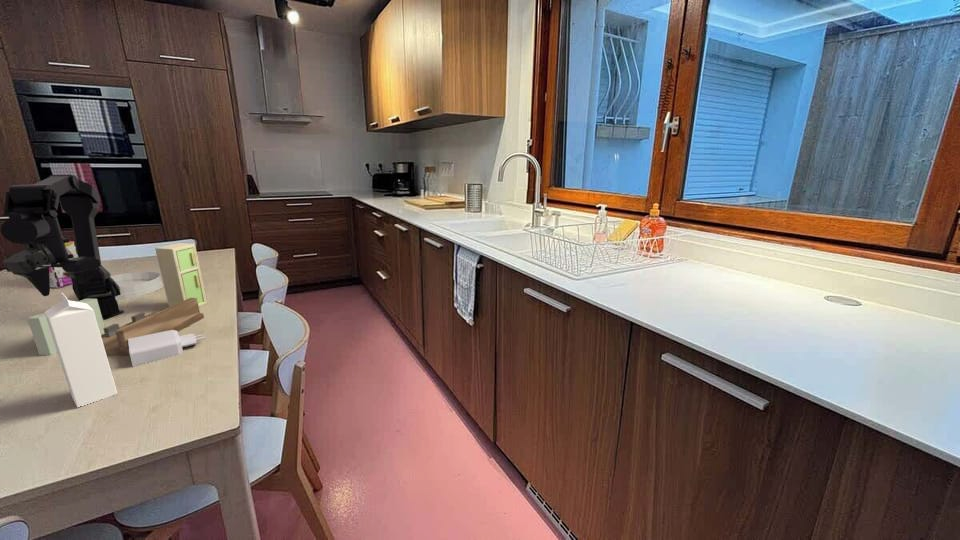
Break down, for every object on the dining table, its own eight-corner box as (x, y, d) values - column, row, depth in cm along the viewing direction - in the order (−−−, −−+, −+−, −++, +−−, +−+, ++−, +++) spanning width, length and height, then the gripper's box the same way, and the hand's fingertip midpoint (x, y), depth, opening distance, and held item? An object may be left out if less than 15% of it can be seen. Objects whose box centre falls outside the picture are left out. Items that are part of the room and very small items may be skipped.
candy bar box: (60, 288, 147) (47, 246, 142) (45, 289, 146) (32, 246, 142) (86, 279, 157) (74, 240, 153) (72, 280, 157) (60, 240, 152)
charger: (209, 350, 101) (133, 369, 91) (203, 338, 107) (131, 354, 97) (206, 334, 99) (128, 351, 89) (200, 322, 106) (127, 337, 96)
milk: (110, 384, 83) (83, 288, 78) (118, 394, 80) (90, 294, 74) (70, 398, 79) (38, 296, 73) (76, 408, 75) (43, 302, 69)
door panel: (39, 355, 96) (27, 318, 94) (96, 331, 110) (86, 298, 107) (51, 355, 96) (38, 318, 93) (106, 331, 110) (96, 298, 107)
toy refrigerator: (188, 313, 123) (173, 248, 117) (169, 311, 124) (154, 247, 119) (209, 304, 130) (197, 243, 125) (191, 302, 132) (178, 242, 126)
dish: (173, 290, 146) (170, 277, 144) (95, 308, 128) (91, 293, 126) (150, 280, 157) (147, 268, 156) (75, 296, 139) (71, 282, 138)
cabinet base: (72, 353, 97) (64, 329, 95) (154, 316, 120) (149, 297, 118) (133, 355, 96) (126, 331, 94) (204, 317, 119) (199, 298, 117)
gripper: (-34, 242, 88) (-10, 306, 92) (46, 243, 87) (66, 307, 92) (23, 234, 99) (42, 291, 103) (94, 234, 98) (110, 292, 102)
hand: (63, 295), depth 100 cm, fingers open, 9 cm apart
